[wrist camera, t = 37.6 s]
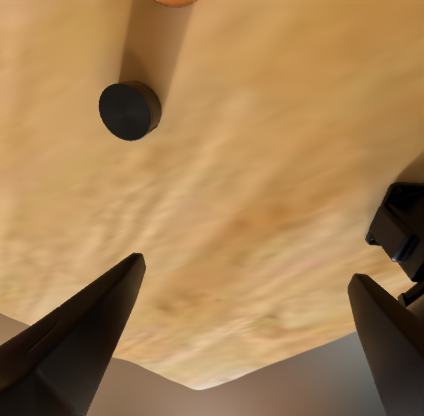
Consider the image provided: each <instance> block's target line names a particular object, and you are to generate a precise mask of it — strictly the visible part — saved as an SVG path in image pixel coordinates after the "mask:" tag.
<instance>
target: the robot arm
mask: <svg viewBox="0 0 424 416" xmlns="http://www.w3.org/2000/svg"><path fill="white" fill-rule="evenodd" d="M397 187H399V188H398V189H397V190H395V189H396V188H397ZM372 239H373V240H372ZM365 240H366V242H367V243H368V244H369V245H377V246H382V247H383V249H384V250H385V252H386V253H387V254H388V256H389V257H390V258H391V260H392V261H393V262H398V264H399V265H400V266H401V268H402V269H403V270H404V272H405V273H406V274H407V276H408V277H409V278H410V280H411V281H412V282H418V283H417V284H415V285H414V286H413V287H412V288H410V289H409V290H408V291H407V292H405V293H402V294H401V295H399V296H398V297H397V298H398V301H397V300H396V299H395V298H394V297H393V296H392V295H390V294H389V293H388V292H387V291H386V290H384V289H383V288H382V287H381V286H380V285H378V284H377V283H376V282H375V281H374V280H373V279H371V278H370V277H369V276H368V275H366V274H358V273H356V274H354V275H353V277H352V279H351V281H350V283H349V285H348V295H349V299H350V304H351V308H352V313H353V317H354V321H355V325H356V329H357V332H358V335H359V338H360V341H361V344H362V347H363V350H364V352H365V355H366V358H367V361H368V364H369V367H370V370H371V373H372V376H373V378H374V381H375V384H376V387H377V390H378V393H379V396H380V399H381V401H382V404H383V407H384V410H385V413H386V416H424V183H405V182H396V183H393V184H391V185H390V187H389V188H388V190H387V193H386V195H385V197H384V199H383V201H382V204H381V206H380V207H379V208H378V210H377V212H376V215H375V217H374V219H373V221H372V223H371V226H370V228H369V232H368V234H367V236H366V239H365ZM145 270H146V265H145V261H144V257H143V254H141V253H132V254H131V255H129V256H128V257H126V258H125V259H124V260H122V261H121V262H120V263H118V264H117V265H115V266H114V267H113V268H111V269H110V270H109V271H107V272H106V273H104V274H103V275H102V276H100V277H99V278H97V279H96V280H95V281H93V282H92V283H91V284H89V285H88V286H86V287H85V288H84V289H82V290H81V291H80V292H78V293H77V294H75V295H74V296H73V297H71V298H70V299H68V300H67V301H66V302H64V303H63V304H62V305H60V307H57V308H56V309H55V310H53V311H52V312H50V313H49V314H48V315H46V316H45V317H43V318H42V319H40V320H39V321H38V322H36V323H35V324H33V325H32V326H30V327H29V328H27V329H26V330H24V331H23V332H21V333H19V334H18V335H16V336H15V337H13V338H12V339H10V340H8V341H7V342H5V343H4V344H2V345H1V346H0V416H86V414H87V412H88V410H89V407H90V405H91V403H92V400H93V398H94V396H95V394H96V391H97V389H98V387H99V384H100V382H101V380H102V377H103V375H104V373H105V371H106V368H107V366H108V364H109V362H110V359H111V357H112V355H113V352H114V350H115V348H116V346H117V343H118V341H119V339H120V336H121V334H122V332H123V330H124V327H125V325H126V323H127V320H128V318H129V316H130V314H131V311H132V309H133V307H134V304H135V302H136V299H137V296H138V293H139V289H140V286H141V283H142V280H143V277H144V274H145Z"/></svg>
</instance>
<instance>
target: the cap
mask: <svg viewBox="0 0 424 416" xmlns="http://www.w3.org/2000/svg"><path fill="white" fill-rule="evenodd" d="M99 112H100V116H101V118H102V121H103V123H104V124H105V126H106V127H107V128H108V130H109V131H110V132H111V133H113V134H114V135H115V136H117V137H118V138H121V139H123V140H127V141H136V140H139V139H141V138H143V137H144V136H145V135H147V134H148V133H149V132H151V131H152V130H154V129H155V128H156V127H157V126H158V124H159V122H160V118H161V106H160V102H159V100H158V98H157V96H156V94H155V93H154V92H153V91H152V89H151V88H149V87H148V86H147V85H145V84H143V83H141V82H138V81H129V82H123V83H117V84H113V85H110V86H108V87H107V88H106V89H105V90H104V91H103V92H102V94H101V96H100V100H99Z"/></svg>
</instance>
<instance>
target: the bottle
mask: <svg viewBox="0 0 424 416" xmlns="http://www.w3.org/2000/svg"><path fill="white" fill-rule="evenodd" d="M154 1H156V2H158V3H160V4H162V5H164V6H168V7H177V8H178V7H184V6H187V5H190V4H192V3H194V2H196V1H197V0H154Z"/></svg>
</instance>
